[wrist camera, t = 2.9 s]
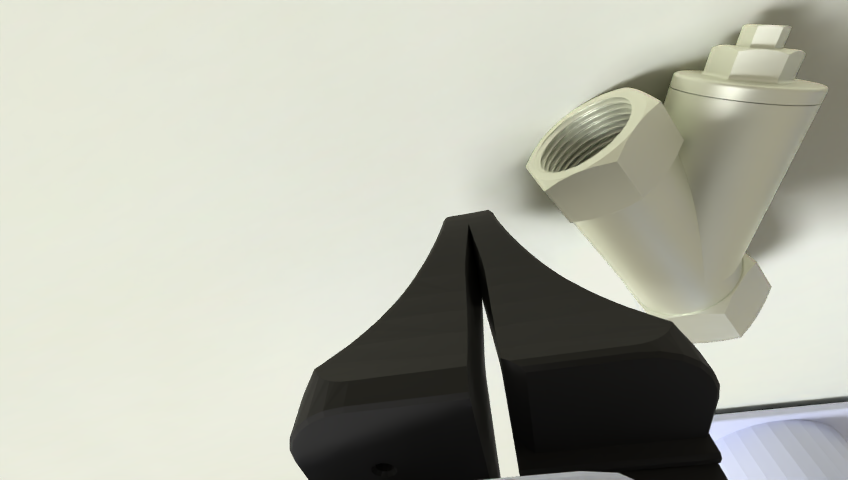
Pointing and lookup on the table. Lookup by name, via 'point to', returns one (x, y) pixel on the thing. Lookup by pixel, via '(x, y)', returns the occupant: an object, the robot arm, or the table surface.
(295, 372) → the table surface
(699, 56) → the table surface
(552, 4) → the table surface
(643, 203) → the pipe fitting
